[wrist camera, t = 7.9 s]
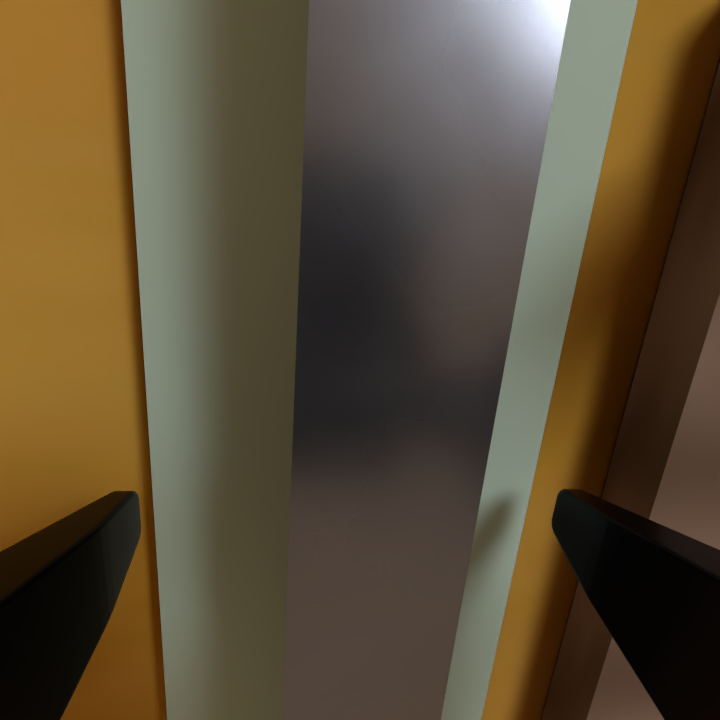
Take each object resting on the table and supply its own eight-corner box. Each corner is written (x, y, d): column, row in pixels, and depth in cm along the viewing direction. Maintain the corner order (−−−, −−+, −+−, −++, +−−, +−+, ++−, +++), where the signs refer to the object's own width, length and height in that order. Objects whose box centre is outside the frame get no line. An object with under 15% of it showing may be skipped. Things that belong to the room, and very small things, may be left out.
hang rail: (375, 812, 13) (394, 973, 10) (279, 824, 13) (271, 996, 10) (506, -175, 7) (661, -498, 4) (320, -221, 6) (332, -622, 3)
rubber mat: (453, 802, 14) (458, 822, 14) (180, 836, 13) (176, 859, 12) (657, -179, 7) (683, -209, 7) (114, -322, 6) (96, -372, 5)
